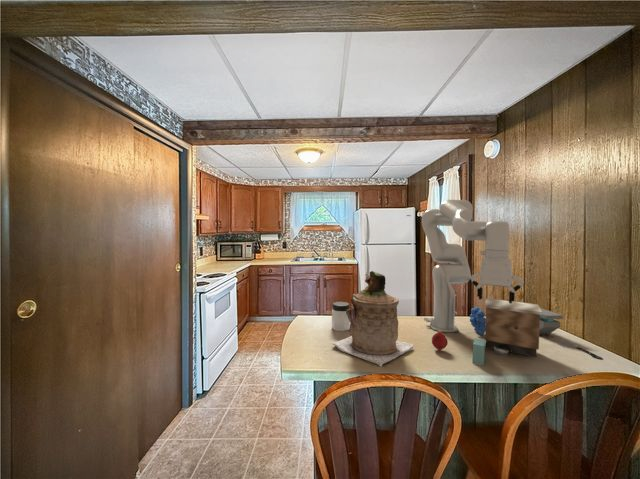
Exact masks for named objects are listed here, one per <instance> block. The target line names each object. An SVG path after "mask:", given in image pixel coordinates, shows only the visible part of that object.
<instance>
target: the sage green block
mask: <svg viewBox="0 0 640 479" xmlns="http://www.w3.org/2000/svg"><path fill="white" fill-rule="evenodd" d="M485 345H486V340H485V339H482V338H477V337H476V338H475V337H474V339H473V343H472V364H475V365H479V366H484V365H485V359H486V358H485V357H486V355H485V354H486V347H485Z"/></svg>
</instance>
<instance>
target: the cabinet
mask: <svg viewBox="0 0 640 479" xmlns="http://www.w3.org/2000/svg"><path fill="white" fill-rule="evenodd" d="M521 302H522V301H512V303H509V300H503V299H497V298H496V299H493V298H485V302H484V308H485V318H486V324H485V325H486V327H485V333H484V340H485V348H490V349H494V345H502V346H506V347H508V348H509V351H510V352H511V353H514V354H519V355H525V356H531V357H537V351H538V350H539V348H540V334H539V328H540V315H542V311H541V309H540V308H541V307H540V306H539V304H535V303H530V302H529V303H528V302H524V303H521Z"/></svg>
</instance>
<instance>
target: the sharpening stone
mask: <svg viewBox="0 0 640 479" xmlns="http://www.w3.org/2000/svg"><path fill="white" fill-rule="evenodd" d="M520 302H521V303H525V302H524V301H520ZM540 309H541V311H542V315H540V328H539V335H550V334H551V333H553V332H555V331H556V330H558V329H559V328H560V327H561V321H558V320H563V319H564V315H563V314H560V313H556V312H554V311H551V310H547V309H544V308H542V307H540Z"/></svg>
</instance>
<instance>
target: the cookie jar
mask: <svg viewBox="0 0 640 479" xmlns="http://www.w3.org/2000/svg"><path fill="white" fill-rule="evenodd" d="M364 281H365V283H366V284H367V286H366V287H365V288H363V289H362V290H360V291H359V292H358V293H357V294H355V293H353V294H352V297H351V299H350V302H351V304H352V306H350V308H349V309H347V310H346V315H347V316H348V319H349V321H350V329H349V330H348V332H349V335H350V336H347V337H346V338H343V339H340V340H337V341H333V342H331V344H332V345H333V346H335V347H336V348H337V349H338V350H340V352H343V353H346V354H349V355H352V356H355V357H357V358H360V359H362V360H365V361H367V362H370V363H373V364H374V365H378V366H379V367H380V368H382V367H383V365H384V364H386V363H388V362H391V361H393V360H395V359H396V358H398V357H399V356H401V355H403V354H406V353H408V352H410V351H413V348H414V344H413V343H409V342H405V341H400V340H399V339H398V338H399V320H398V308H397V307H398V305H399V301H400V300H399V298H397V297H395V296H392V295H390V294H389V293H387V292H386V290H385V289H386V276H385V275H384V274H381V273H379V272H375V271H373V270H370V272H369V274H368V275H367V274H366V276H365V280H364Z"/></svg>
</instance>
